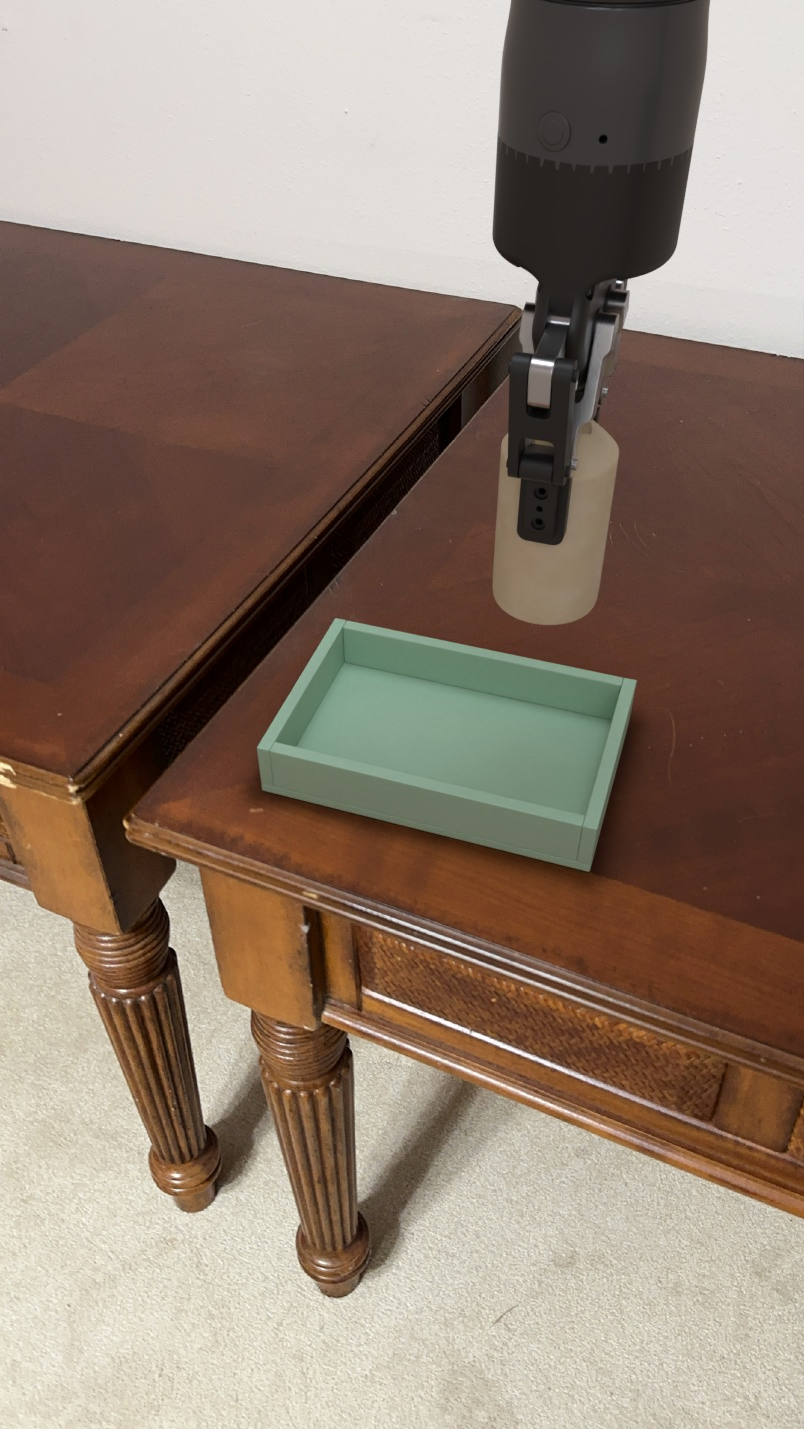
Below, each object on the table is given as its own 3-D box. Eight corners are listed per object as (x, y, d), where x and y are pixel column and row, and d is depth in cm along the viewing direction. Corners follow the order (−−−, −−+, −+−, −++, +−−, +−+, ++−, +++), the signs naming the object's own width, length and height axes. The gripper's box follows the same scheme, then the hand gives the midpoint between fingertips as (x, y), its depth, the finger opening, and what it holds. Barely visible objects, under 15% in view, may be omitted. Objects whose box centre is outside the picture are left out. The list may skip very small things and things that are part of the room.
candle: (603, 627, 55) (631, 449, 49) (494, 626, 55) (506, 448, 49) (591, 563, 59) (615, 391, 53) (489, 562, 59) (500, 390, 53)
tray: (628, 722, 69) (637, 679, 67) (589, 872, 60) (597, 829, 58) (337, 659, 74) (335, 617, 71) (261, 790, 65) (256, 747, 63)
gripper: (666, 196, 36) (603, 605, 48) (717, 86, 46) (655, 446, 58) (448, 173, 38) (438, 573, 50) (543, 72, 48) (516, 424, 60)
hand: (555, 503), depth 54 cm, fingers closed on candle, 5 cm apart
